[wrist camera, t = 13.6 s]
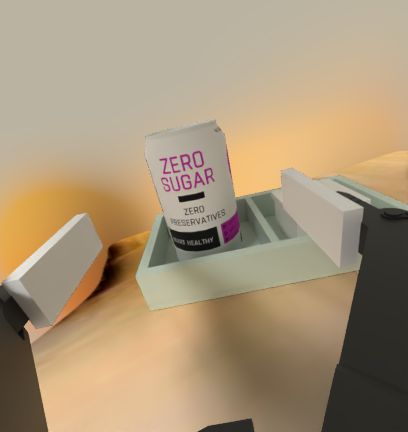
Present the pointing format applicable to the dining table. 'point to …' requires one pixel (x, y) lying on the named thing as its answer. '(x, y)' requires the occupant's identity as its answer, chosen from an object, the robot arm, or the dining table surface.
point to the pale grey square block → (286, 220)
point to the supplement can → (195, 188)
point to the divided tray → (240, 256)
